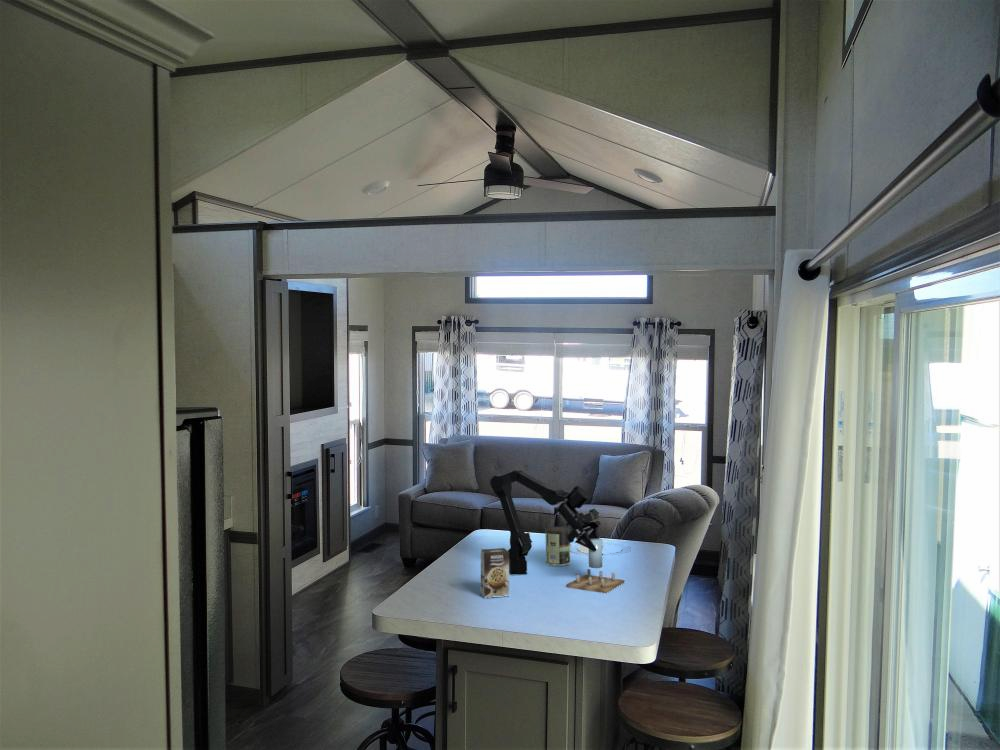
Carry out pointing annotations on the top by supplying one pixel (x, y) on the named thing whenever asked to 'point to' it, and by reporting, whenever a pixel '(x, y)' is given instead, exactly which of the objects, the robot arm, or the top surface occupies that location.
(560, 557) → the coffee can
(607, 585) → the dish rack
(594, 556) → the grey dome-topped cylinder
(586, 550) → the plate
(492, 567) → the brown food box
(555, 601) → the top surface
